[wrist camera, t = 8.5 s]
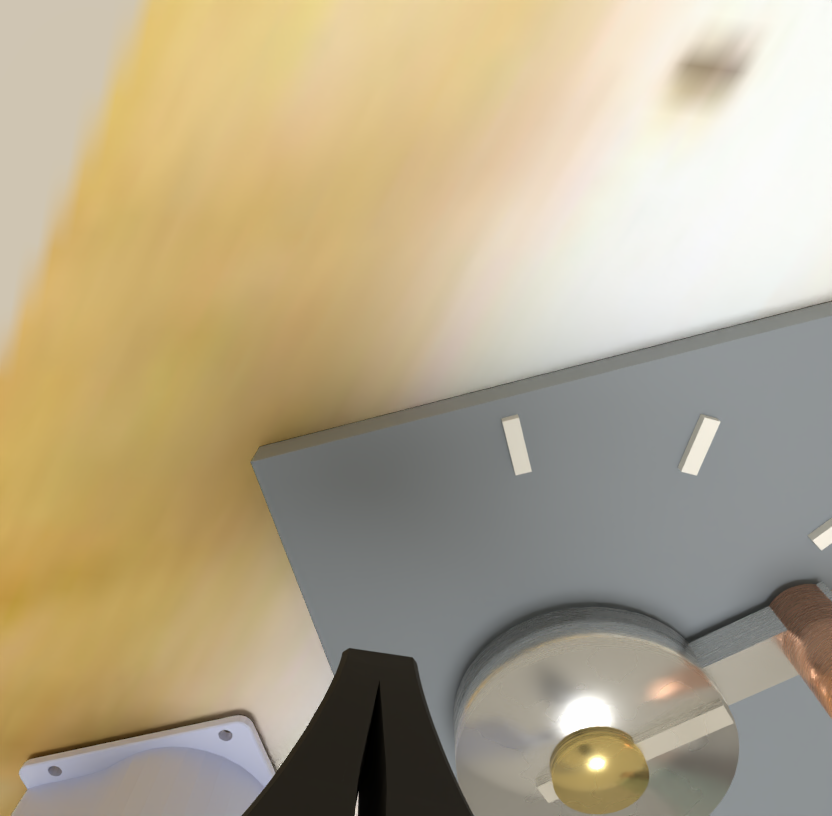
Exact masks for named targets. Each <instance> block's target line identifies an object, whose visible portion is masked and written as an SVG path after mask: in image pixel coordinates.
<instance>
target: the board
mask: <svg viewBox="0 0 832 816" xmlns="http://www.w3.org/2000/svg"><path fill="white" fill-rule="evenodd" d="M251 464H252V467H253V469H254V472H255V475H256V477H257V480H258V482H259V485H260V487H261V490H262V493H263V495H264V498H265V500H266V503H267V505H268V508H269V511H270V513H271V516H272V518H273V521H274V523H275V526H276V529H277V531H278V534H279V536H280V539H281V541H282V544H283V546H284V549H285V552H286V554H287V557H288V559H289V562H290V564H291V567H292V570H293V572H294V575H295V577H296V580H297V582H298V585H299V588H300V590H301V593H302V595H303V598H304V600H305V603H306V605H307V608H308V611H309V613H310V616H311V618H312V621H313V623H314V626H315V629H316V631H317V634H318V636H319V639H320V641H321V644H322V647H323V649H324V652H325V654H326V657H327V659H328V662H329V664H330V667H331V670H332V672H333V675H334V676H335V674H336V671H337V669H338V666H339V663H340V660H341V656H342V652H343V651H345V650H347V649H348V648H354V649H360V650H367V651H374V652H381V653H387V654H394V655H401V656H408V657H413V658H414V660H415V661H416V662H417V666H418V671H419V676H420V680H421V684H422V688H423V692H424V695H425V699H426V702H427V705H428V708H429V711H430V714H431V717H432V720H433V723H434V726H435V729H436V731H437V734H438V736H439V739H440V742H441V744H442V747H443V749H444V752H445V755H446V757H447V759H448V762H449V764H450V766H451V769H452V771H453V773H454V775H455V778H456V780H457V771H456V758H455V738H454V718H453V717H454V703H455V699H456V695H457V691H458V688H459V686H460V683H461V681H462V678H463V676H464V675H465V673H466V671H467V670H468V668H469V666H470V665H471V663H472V662H473V661H474V660H475V658H476V657H477V656H478V655H479V653H480V652H481V651H482V650H483V649H484V648H486V647H487V646H488V645H489V644H490V643H491V642H492V641H493V640H495V639H496V638H497V637H499V636H500V635H501V634H503V633H504V632H506V631H507V630H509V629H511V628H513V627H514V626H516V625H518V624H520V623H522V622H524V621H527V620H529V619H531V618H534V617H536V616H539V615H543V614H546V613H549V612H553V611H558V610H563V609H568V608H577V607H609V608H616V609H623V610H628V611H631V612H635V613H639V614H642V615H645V616H647V617H650V618H652V619H655V620H657V621H659V622H661V623H663V624H664V625H666V626H668V627H670V628H671V629H673V630H674V631H675V632H677V633H678V634H679V635H681V636H682V637H683V638H684V639H685V640H686V641H687V642H688V643H690V642H692V641H694V640H697V639H699V638H701V637H703V636H705V635H707V634H710V633H712V632H714V631H716V630H718V629H720V628H722V627H725V626H727V625H729V624H731V623H733V622H735V621H738V620H740V619H742V618H744V617H746V616H748V615H751V614H753V613H755V612H757V611H759V610H761V609H764V608H766V607H768V606H769V605H770V603H771V602H772V601H773V600H774V599H775V598H776V597H777V596H778V595H779V594H780V593H782V592H783V591H785V590H787V589H789V588H791V587H794V586H797V585H802V584H818V583H820V582H823V583H824V584H825V585H826V586H827V587H828V588H829V589H830V590H831V591H832V301H831V302H827V303H823V304H819V305H815V306H811V307H807V308H803V309H799V310H795V311H791V312H787V313H783V314H779V315H776V316H772V317H768V318H764V319H760V320H756V321H752V322H748V323H744V324H740V325H736V326H732V327H728V328H724V329H721V330H717V331H713V332H709V333H705V334H701V335H697V336H693V337H689V338H685V339H681V340H677V341H673V342H669V343H666V344H662V345H658V346H654V347H650V348H646V349H642V350H638V351H634V352H630V353H626V354H622V355H618V356H614V357H610V358H607V359H603V360H599V361H595V362H591V363H587V364H583V365H579V366H575V367H571V368H567V369H563V370H559V371H555V372H552V373H548V374H544V375H540V376H536V377H532V378H528V379H524V380H520V381H516V382H512V383H508V384H504V385H500V386H497V387H493V388H489V389H485V390H481V391H477V392H473V393H469V394H465V395H461V396H457V397H453V398H449V399H445V400H442V401H438V402H434V403H430V404H426V405H422V406H418V407H414V408H410V409H406V410H402V411H398V412H394V413H390V414H387V415H383V416H379V417H375V418H371V419H367V420H363V421H359V422H355V423H351V424H347V425H343V426H339V427H335V428H332V429H328V430H324V431H320V432H316V433H312V434H308V435H304V436H300V437H296V438H292V439H288V440H284V441H280V442H276V443H273V444H269V445H265V446H261V447H259V449H258V450H257V452H256V454H255V456H254V457H253V459H252V461H251ZM728 707H729V709H730V711H731V713H732V715H733V718H734V720H735V724H736V727H737V731H738V738H739V758H738V764H737V768H736V772H735V775H734V778H733V780H732V782H731V785H730V787H729V789H728V791H727V792H726V794H725V796H724V797H723V799H722V801H721V802H720V803H719V804H718V806H717V807H716V808H715V809H714V810H713V812H712V813H711V814H710V815H709V816H832V719H831V717H830V716H829V715H828V713H827V712H826V711H825V709H824V708H823V707H822V705H821V704H820V702H819V701H818V700H817V698H816V697H815V696H814V694H813V693H812V691H811V690H810V689H809V687H808V686H807V685H806V683H805V682H804V681H803V679H802V678H801V676H800V675H797V676H795V677H793V678H790V679H788V680H786V681H784V682H781V683H779V684H777V685H775V686H772V687H770V688H768V689H765V690H763V691H761V692H759V693H756V694H754V695H752V696H749V697H747V698H745V699H743V700H740V701H738V702H736V703H733V704H731V705H729V706H728ZM457 782H458V780H457ZM458 784H459V783H458ZM473 815H474V814H473Z"/></svg>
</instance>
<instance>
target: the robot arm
mask: <svg viewBox="0 0 832 816" xmlns="http://www.w3.org/2000/svg"><path fill="white" fill-rule="evenodd" d="M223 730H228V731H230V732H231V733H228V732H225V731H223ZM19 775H20V778H21V780H22V781H23V783H24V784H25V786H26V788H27V789H28V790H27V791H26V792H25V794H24V795H23V797H22V799H21V800H20V802H19V803H18V805H17V806H16V808H15V809H14V811H13V813H12V814H11V816H354V815H355V806H356V801H357V796H358V792H359V800H358V816H474V815H473V813H472V811H471V809H470V807H469V805H468V803H467V801H466V799H465V797H464V795H463V793H462V791H461V788H460V786H459V784H458V782H457V780H456V778H455V775H454V773H453V771H452V769H451V766H450V764H449V762H448V759H447V757H446V755H445V752H444V749H443V747H442V744H441V742H440V739H439V736H438V734H437V731H436V729H435V726H434V723H433V720H432V717H431V714H430V711H429V708H428V705H427V702H426V699H425V695H424V692H423V688H422V684H421V680H420V676H419V671H418V666H417V662H416V661H415V660H414V658H413V657H408V656H401V655H394V654H387V653H381V652H374V651H367V650H360V649H354V648H348V649H347V650H345V651H343V652H342V656H341V660H340V663H339V666H338V669H337V671H336V674H335V676H334V678H333V680H332V683H331V685H330V687H329V689H328V691H327V693H326V695H325V697H324V699H323V700H322V702H321V704H320V706H319V707H318V709H317V711H316V712H315V714H314V716H313V718H312V719H311V721H310V723H309V725H308V726H307V728H306V729H305V731H304V733H303V734H302V736H301V737H300V739H299V740H298V742H297V743H296V745H295V746H294V748H293V749H292V751H291V752H290V753H289V755H288V756H287V758H286V759H285V761H284V762H283V764H282V765H281V767H280V768H279V769H278V771H277V772H276V773H275V771H274V768H273V766H272V764H271V762H270V760H269V757H268V755H267V753H266V751H265V749H264V746H263V744H262V742H261V740H260V737H259V735H258V733H257V731H256V729H255V726H254V724H253V722H252V721H251V720H250V719H249V718H247V717H246V716H242V715H236V716H231V717H226V718H222V719H217V720H212V721H207V722H203V723H198V724H193V725H189V726H184V727H179V728H174V729H170V730H165V731H160V732H156V733H151V734H146V735H141V736H137V737H132V738H127V739H123V740H118V741H113V742H108V743H104V744H99V745H94V746H90V747H85V748H80V749H75V750H71V751H66V752H61V753H57V754H52V755H47V756H43V757H38V758H33V759H29V760H27V761H26V762H25V763H24V764H23V766H22V767H21V769H20V771H19Z"/></svg>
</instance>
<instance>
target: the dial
mask: <svg viewBox="0 0 832 816" xmlns="http://www.w3.org/2000/svg"><path fill="white" fill-rule="evenodd" d="M797 675H800V676H801V678H802V679H803V681H804V682H805V683H806V685H807V686H808V687H809V689H810V690H811V691H812V693H813V694H814V696H815V697H816V698H817V700H818V701H819V702H820V704H821V705H822V707H823V708H824V709H825V711H826V712H827V713H828V715H829V716H830V717H831V719H832V591H831V590H830V589H829V588H828V587H827V586H826V585H825V584H824V583H823V582H820V583H818V584H802V585H797V586H794V587H791V588H789V589H787V590H785V591H783V592H782V593H780V594H779V595H778V596H777V597H776V598H775V599H774V600H773V601H772V602H771V603H770V605H769V606H768V607H766V608H764V609H761V610H759V611H757V612H755V613H753V614H751V615H748V616H746V617H744V618H742V619H740V620H738V621H735V622H733V623H731V624H729V625H727V626H725V627H722V628H720V629H718V630H716V631H714V632H712V633H710V634H707V635H705V636H703V637H701V638H699V639H697V640H694V641H692V642H690V643H688V642H687V641H686V640H685V639H684V638H683V637H682V636H681V635H679V634H678V633H677V632H675V631H674V630H673V629H671V628H670V627H668V626H666V625H664V624H663V623H661V622H659V621H657V620H655V619H652V618H650V617H647V616H645V615H642V614H639V613H635V612H631V611H628V610H623V609H616V608H609V607H577V608H568V609H563V610H558V611H553V612H549V613H546V614H543V615H539V616H536V617H534V618H531V619H529V620H527V621H524V622H522V623H520V624H518V625H516V626H514V627H513V628H511V629H509V630H507V631H506V632H504V633H503V634H501V635H500V636H499V637H497V638H496V639H495V640H493V641H492V642H491V643H490V644H489V645H488V646H487V647H486V648H484V649H483V650H482V651H481V652H480V653H479V655H478V656H477V657H476V658H475V660H474V661H473V662H472V663H471V665H470V666H469V668H468V670H467V671H466V673H465V675H464V676H463V678H462V681H461V683H460V686H459V688H458V691H457V695H456V699H455V703H454V717H453V718H454V738H455V758H456V771H457V780H458V783H459V786H460V788H461V791H462V793H463V795H464V797H465V799H466V801H467V803H468V805H469V807H470V809H471V811H472V813H473V814H474V816H709V815H710V814H711V813H712V812H713V810H714V809H715V808H716V807H717V806H718V804H719V803H720V802H721V801H722V799H723V797H724V796H725V794H726V792H727V791H728V789H729V787H730V785H731V782H732V780H733V778H734V775H735V772H736V768H737V764H738V758H739V738H738V731H737V727H736V724H735V720H734V718H733V715H732V713H731V711H730V709H729V707H728V706H729V705H731V704H733V703H736V702H738V701H740V700H743V699H745V698H747V697H749V696H752V695H754V694H756V693H759V692H761V691H763V690H765V689H768V688H770V687H772V686H775V685H777V684H779V683H781V682H784V681H786V680H788V679H790V678H793V677H795V676H797Z"/></svg>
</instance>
